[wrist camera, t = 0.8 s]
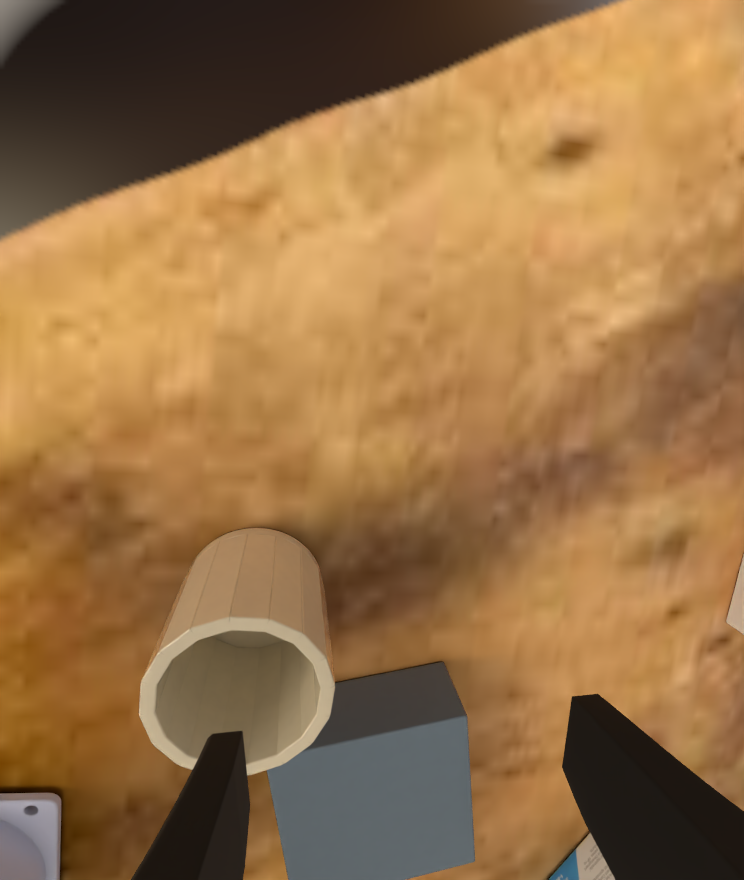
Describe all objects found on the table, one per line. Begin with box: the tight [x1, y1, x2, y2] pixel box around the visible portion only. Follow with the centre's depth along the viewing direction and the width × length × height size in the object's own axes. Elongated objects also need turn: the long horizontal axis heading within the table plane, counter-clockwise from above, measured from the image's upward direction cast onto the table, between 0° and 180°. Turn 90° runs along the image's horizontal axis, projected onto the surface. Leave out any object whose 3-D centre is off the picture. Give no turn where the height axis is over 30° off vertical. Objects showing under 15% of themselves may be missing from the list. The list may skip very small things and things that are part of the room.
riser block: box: [267, 662, 475, 880], centre depth 21 cm, size 8×8×3 cm
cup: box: [139, 528, 335, 776], centre depth 17 cm, size 6×6×6 cm
